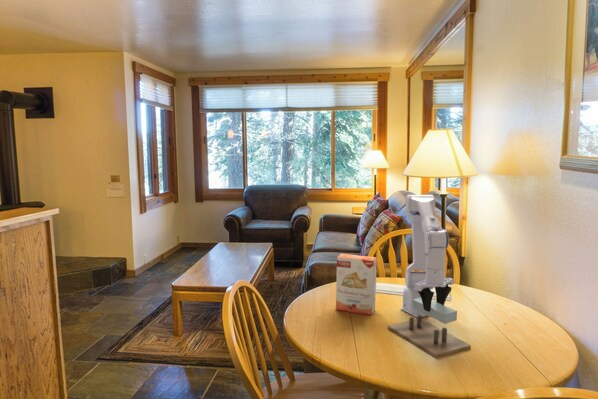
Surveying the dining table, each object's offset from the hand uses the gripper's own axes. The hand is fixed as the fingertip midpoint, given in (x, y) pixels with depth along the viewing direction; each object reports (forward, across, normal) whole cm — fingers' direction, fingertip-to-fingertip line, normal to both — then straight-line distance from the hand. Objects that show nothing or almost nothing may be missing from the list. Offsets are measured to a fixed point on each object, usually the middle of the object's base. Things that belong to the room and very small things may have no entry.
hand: (433, 309), depth 129 cm
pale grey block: (+2, 0, 0) cm, 2 cm away
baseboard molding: (+10, +22, +35) cm, 43 cm away
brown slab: (+9, -2, 0) cm, 10 cm away
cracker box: (+10, -10, +29) cm, 32 cm away
